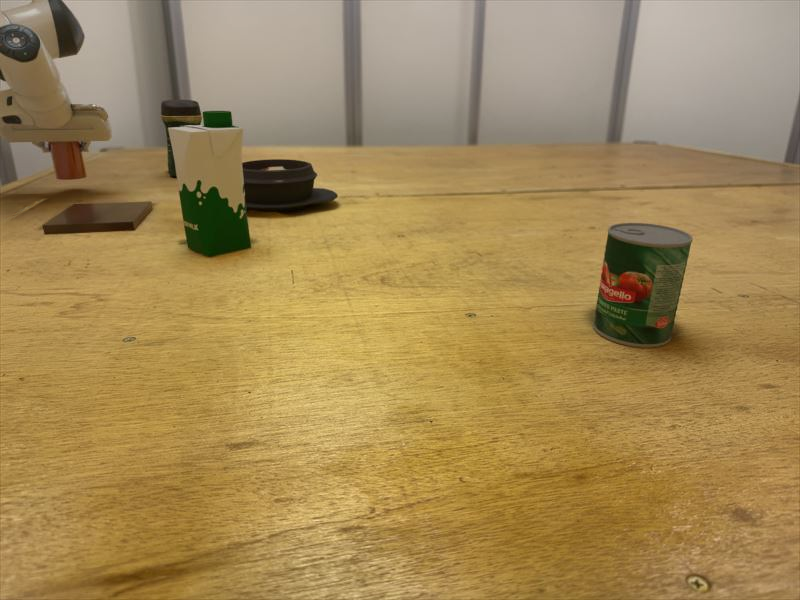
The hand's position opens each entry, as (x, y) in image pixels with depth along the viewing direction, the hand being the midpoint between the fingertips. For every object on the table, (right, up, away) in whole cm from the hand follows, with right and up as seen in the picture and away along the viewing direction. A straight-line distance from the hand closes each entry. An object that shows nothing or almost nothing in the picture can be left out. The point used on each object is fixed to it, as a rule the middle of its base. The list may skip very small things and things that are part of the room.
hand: (66, 149), depth 121 cm
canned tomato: (+98, -37, -61) cm, 121 cm away
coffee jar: (+18, -1, +23) cm, 29 cm away
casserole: (+48, -14, -9) cm, 51 cm away
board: (+19, -19, -21) cm, 34 cm away
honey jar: (0, -6, +2) cm, 6 cm away
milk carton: (+45, -25, -35) cm, 62 cm away
